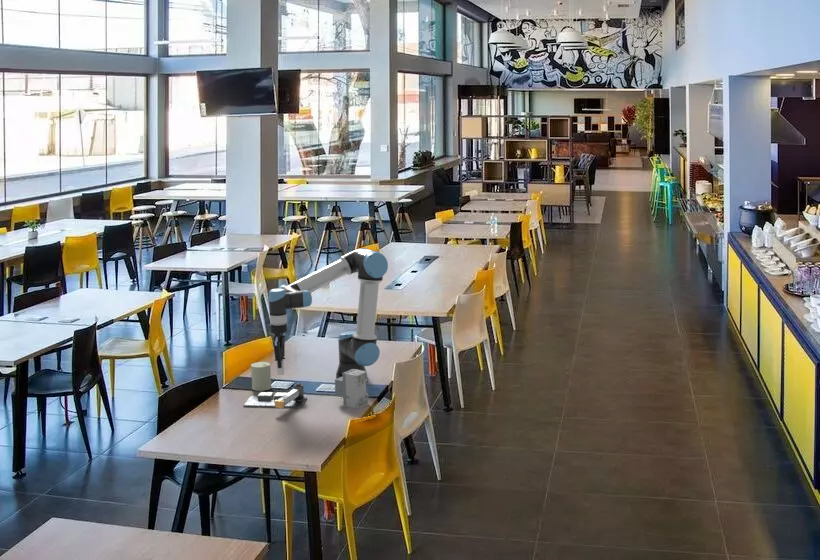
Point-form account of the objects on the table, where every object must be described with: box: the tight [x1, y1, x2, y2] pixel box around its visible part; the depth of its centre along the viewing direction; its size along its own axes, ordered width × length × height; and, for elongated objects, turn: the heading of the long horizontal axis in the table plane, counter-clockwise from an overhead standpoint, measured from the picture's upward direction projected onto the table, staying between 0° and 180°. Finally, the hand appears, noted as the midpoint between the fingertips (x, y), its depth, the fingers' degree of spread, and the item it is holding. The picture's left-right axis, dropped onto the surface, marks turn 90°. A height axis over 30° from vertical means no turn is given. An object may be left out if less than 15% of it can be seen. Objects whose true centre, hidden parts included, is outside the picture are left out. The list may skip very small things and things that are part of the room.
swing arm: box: [274, 382, 305, 409], centre depth 416 cm, size 22×4×7 cm, turn 161°
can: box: [250, 361, 272, 392], centre depth 443 cm, size 9×9×12 cm
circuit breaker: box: [334, 369, 369, 409], centre depth 419 cm, size 8×14×15 cm, turn 55°
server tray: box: [242, 391, 308, 409], centre depth 422 cm, size 26×13×3 cm, turn 83°
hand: (280, 374), depth 423 cm, fingers closed
